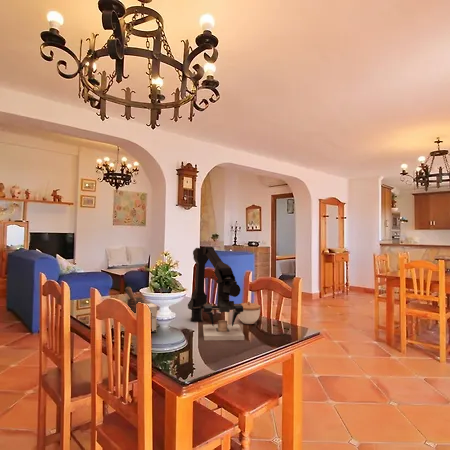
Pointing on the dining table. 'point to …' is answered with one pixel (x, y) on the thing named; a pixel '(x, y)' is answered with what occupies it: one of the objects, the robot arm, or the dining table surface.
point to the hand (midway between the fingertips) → (222, 326)
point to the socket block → (231, 334)
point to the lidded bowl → (249, 313)
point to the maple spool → (222, 326)
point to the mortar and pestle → (133, 299)
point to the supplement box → (153, 315)
